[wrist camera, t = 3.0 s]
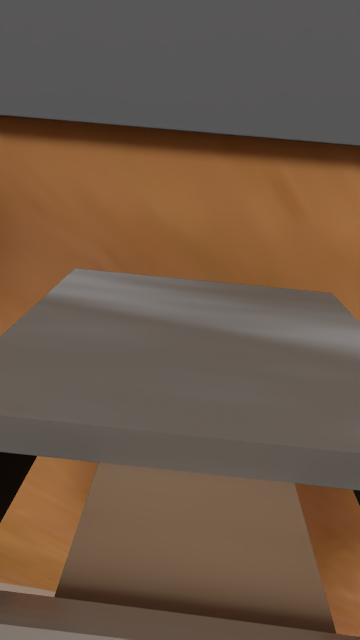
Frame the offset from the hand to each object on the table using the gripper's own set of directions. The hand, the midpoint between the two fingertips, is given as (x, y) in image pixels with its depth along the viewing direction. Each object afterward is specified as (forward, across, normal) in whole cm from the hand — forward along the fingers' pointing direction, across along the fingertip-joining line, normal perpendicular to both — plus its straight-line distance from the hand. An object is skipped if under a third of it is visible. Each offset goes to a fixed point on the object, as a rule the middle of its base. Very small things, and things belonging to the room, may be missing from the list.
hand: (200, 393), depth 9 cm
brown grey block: (+4, 0, 0) cm, 4 cm away
